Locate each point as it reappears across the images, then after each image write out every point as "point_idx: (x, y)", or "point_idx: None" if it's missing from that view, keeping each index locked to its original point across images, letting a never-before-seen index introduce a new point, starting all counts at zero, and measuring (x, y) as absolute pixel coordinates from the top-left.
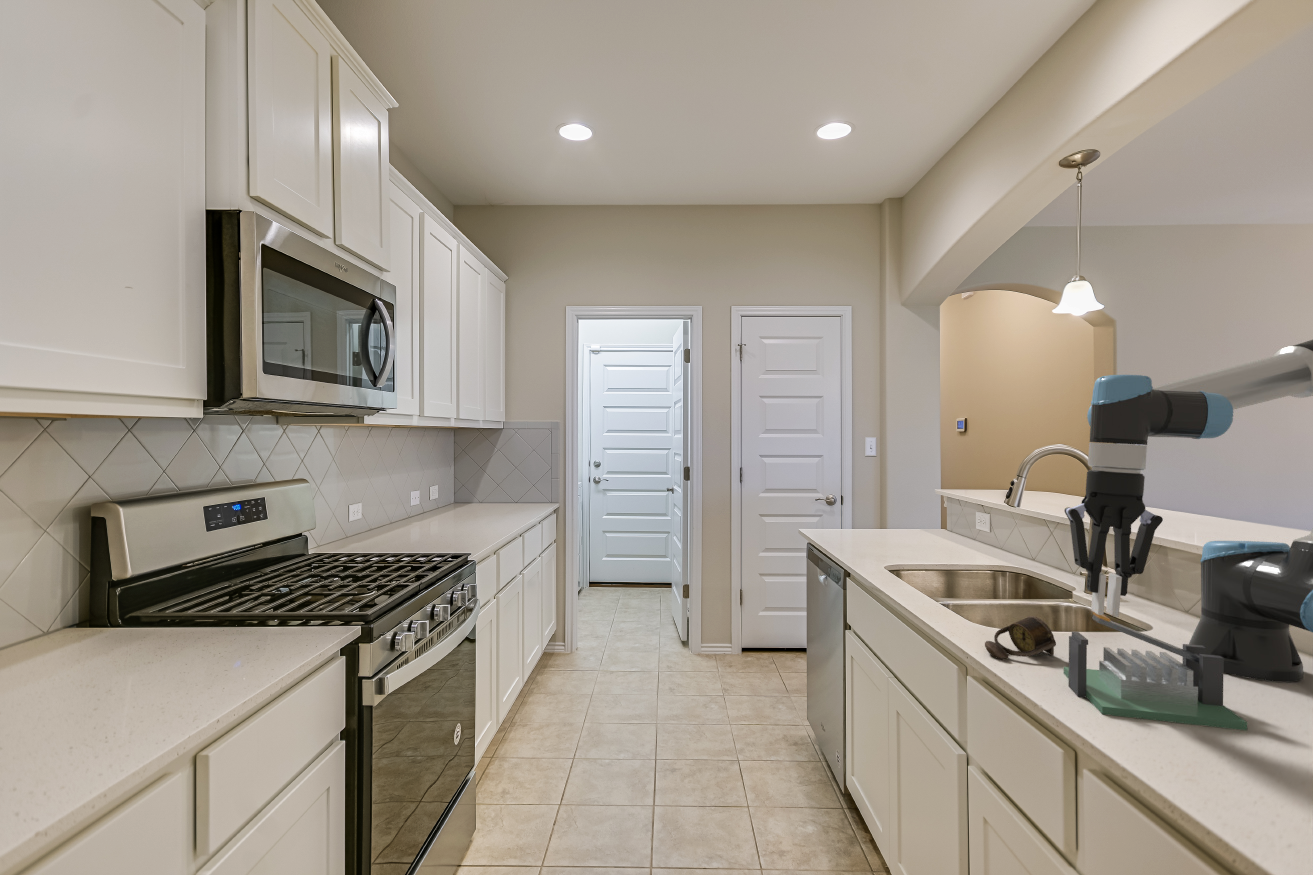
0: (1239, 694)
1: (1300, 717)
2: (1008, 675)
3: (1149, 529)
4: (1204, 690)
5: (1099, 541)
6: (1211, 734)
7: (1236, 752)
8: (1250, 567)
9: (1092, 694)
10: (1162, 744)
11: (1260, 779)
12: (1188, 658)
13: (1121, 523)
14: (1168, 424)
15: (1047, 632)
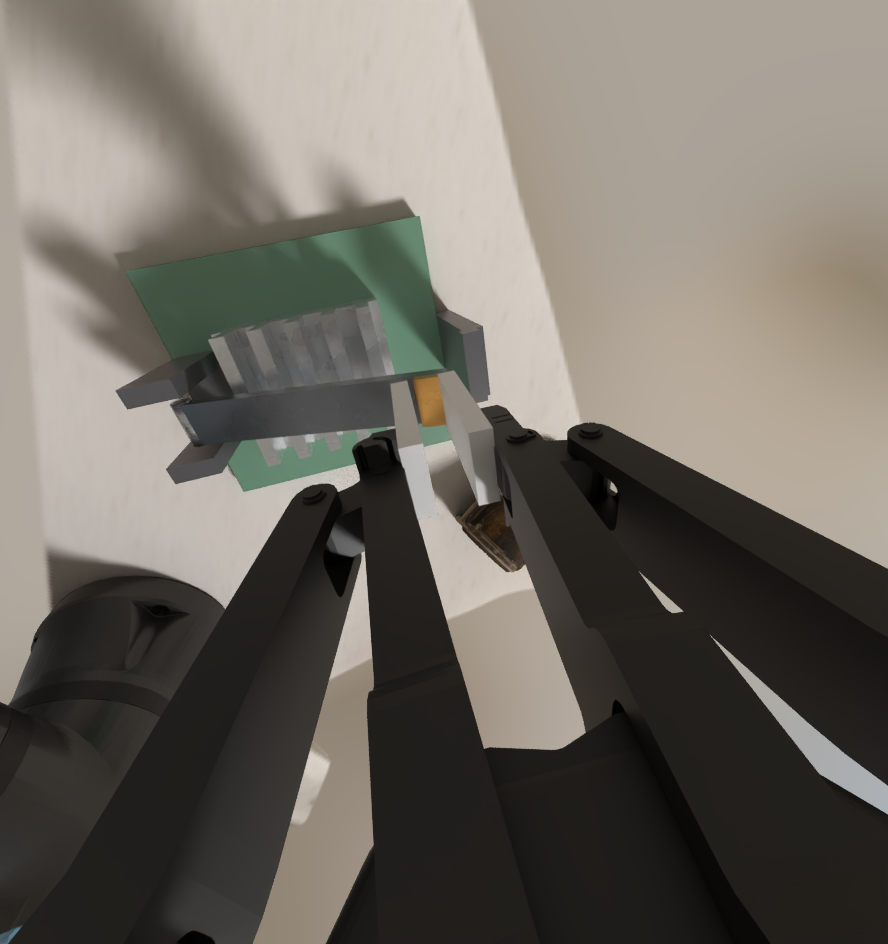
0: (153, 486)
1: (38, 415)
2: (555, 367)
3: (135, 857)
4: (201, 357)
5: (604, 546)
6: (206, 200)
7: (154, 90)
8: None
9: (428, 290)
10: (312, 59)
11: None
12: (213, 397)
13: (504, 826)
14: None
15: (482, 530)
